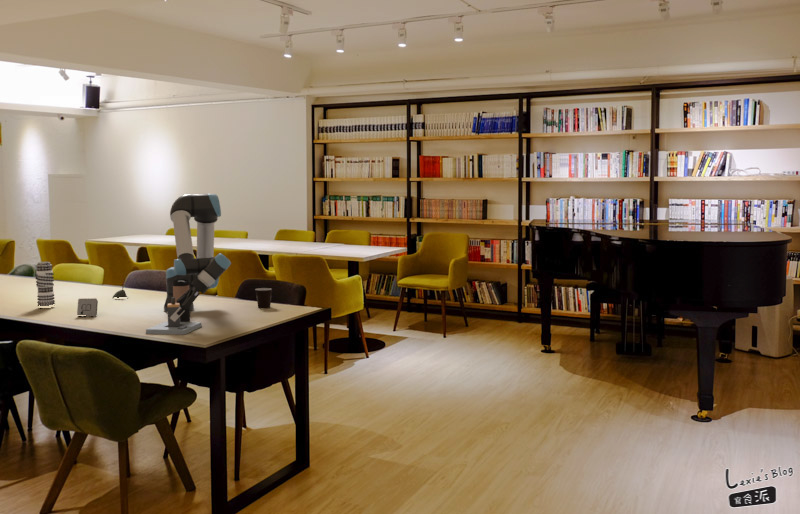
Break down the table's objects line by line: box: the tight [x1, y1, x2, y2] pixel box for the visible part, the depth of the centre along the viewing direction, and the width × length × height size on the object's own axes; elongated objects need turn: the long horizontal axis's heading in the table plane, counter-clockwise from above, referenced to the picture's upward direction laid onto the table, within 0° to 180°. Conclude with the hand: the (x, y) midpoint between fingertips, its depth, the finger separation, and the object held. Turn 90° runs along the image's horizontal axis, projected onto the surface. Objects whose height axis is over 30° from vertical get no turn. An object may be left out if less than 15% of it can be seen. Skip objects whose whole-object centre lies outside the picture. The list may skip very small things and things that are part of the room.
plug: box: [167, 297, 180, 327], centre depth 320 cm, size 5×5×15 cm
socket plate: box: [145, 321, 202, 336], centre depth 321 cm, size 18×18×3 cm
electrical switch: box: [76, 297, 99, 317], centre depth 359 cm, size 9×5×9 cm, turn 90°
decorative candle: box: [34, 261, 56, 307], centre depth 385 cm, size 9×9×25 cm
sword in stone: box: [112, 278, 128, 298], centre depth 417 cm, size 10×8×12 cm
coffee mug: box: [255, 287, 273, 309], centre depth 380 cm, size 12×9×10 cm
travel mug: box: [173, 279, 191, 322], centre depth 341 cm, size 8×8×20 cm
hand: (170, 317), depth 319 cm, fingers open, 13 cm apart
